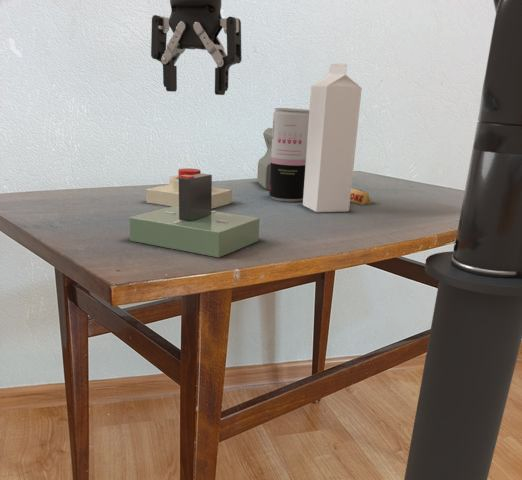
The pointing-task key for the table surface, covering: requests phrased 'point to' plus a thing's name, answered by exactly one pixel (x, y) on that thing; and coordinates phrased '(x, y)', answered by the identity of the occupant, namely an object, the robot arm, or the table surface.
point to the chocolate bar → (360, 197)
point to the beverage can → (288, 154)
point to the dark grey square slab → (195, 196)
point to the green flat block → (195, 231)
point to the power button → (188, 172)
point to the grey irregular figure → (265, 161)
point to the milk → (331, 141)
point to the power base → (170, 194)
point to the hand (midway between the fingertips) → (195, 93)
